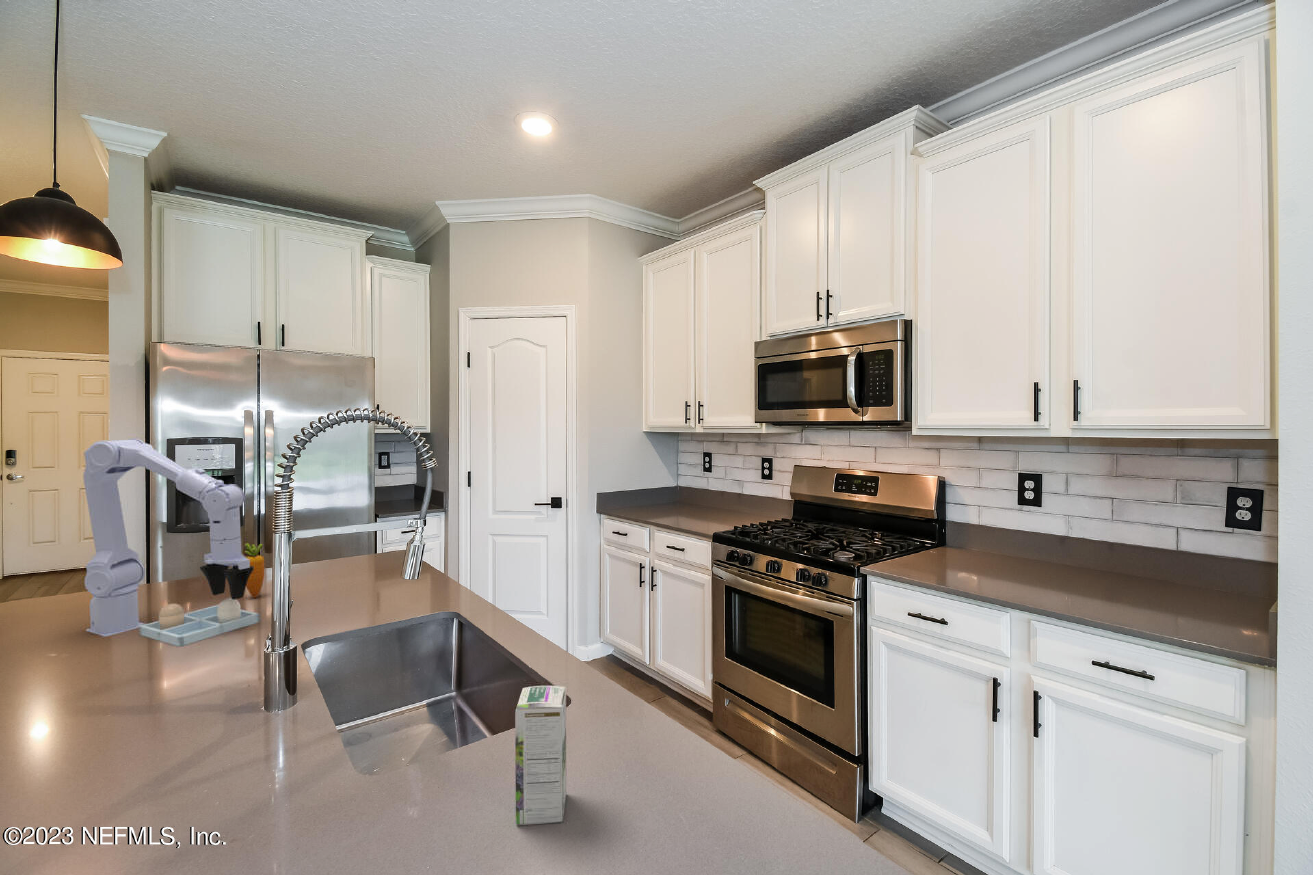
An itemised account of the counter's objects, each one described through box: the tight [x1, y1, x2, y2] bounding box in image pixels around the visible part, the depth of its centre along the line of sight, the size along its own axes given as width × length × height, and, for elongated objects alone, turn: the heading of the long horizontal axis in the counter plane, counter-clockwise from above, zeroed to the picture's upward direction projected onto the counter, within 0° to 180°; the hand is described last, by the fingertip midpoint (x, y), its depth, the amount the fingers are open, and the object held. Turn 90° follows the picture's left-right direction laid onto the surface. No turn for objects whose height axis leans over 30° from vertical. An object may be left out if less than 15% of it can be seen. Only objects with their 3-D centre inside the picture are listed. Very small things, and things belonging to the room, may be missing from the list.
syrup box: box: [514, 685, 567, 826], centre depth 75 cm, size 6×6×14 cm
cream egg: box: [217, 597, 242, 624], centre depth 140 cm, size 4×4×6 cm
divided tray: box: [138, 604, 261, 648], centre depth 138 cm, size 16×16×2 cm
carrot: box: [244, 542, 265, 599], centre depth 162 cm, size 5×5×15 cm
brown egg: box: [158, 603, 185, 630], centre depth 136 cm, size 4×4×6 cm
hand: (227, 596), depth 139 cm, fingers open, 7 cm apart
